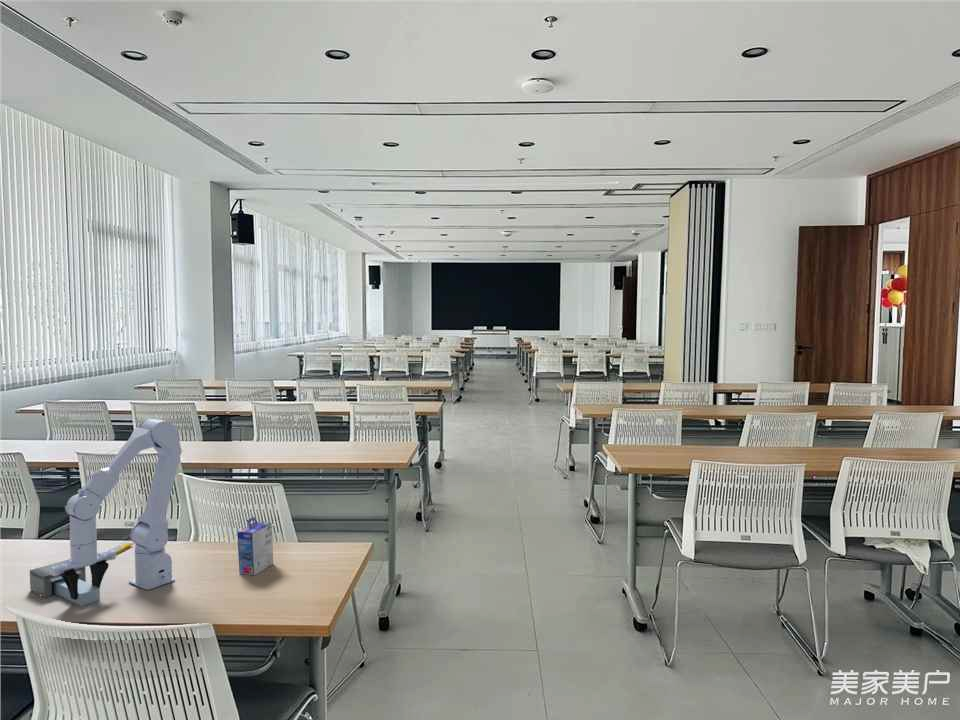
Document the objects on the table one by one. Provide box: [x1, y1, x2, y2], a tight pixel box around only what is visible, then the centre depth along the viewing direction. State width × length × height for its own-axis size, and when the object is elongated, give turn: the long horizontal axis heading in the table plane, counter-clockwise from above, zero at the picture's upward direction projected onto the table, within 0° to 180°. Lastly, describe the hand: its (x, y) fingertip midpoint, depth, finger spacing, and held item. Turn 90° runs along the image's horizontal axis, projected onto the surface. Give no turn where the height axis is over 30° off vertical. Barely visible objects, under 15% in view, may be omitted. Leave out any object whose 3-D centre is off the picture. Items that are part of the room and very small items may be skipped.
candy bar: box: [108, 542, 135, 556], centre depth 198 cm, size 17×4×2 cm, turn 176°
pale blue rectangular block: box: [52, 579, 101, 607], centre depth 167 cm, size 15×4×3 cm, turn 56°
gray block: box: [29, 558, 87, 598], centre depth 172 cm, size 9×10×6 cm
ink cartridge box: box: [236, 516, 274, 576], centre depth 186 cm, size 10×6×14 cm, turn 165°
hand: (85, 595), depth 165 cm, fingers closed on pale blue rectangular block, 4 cm apart
